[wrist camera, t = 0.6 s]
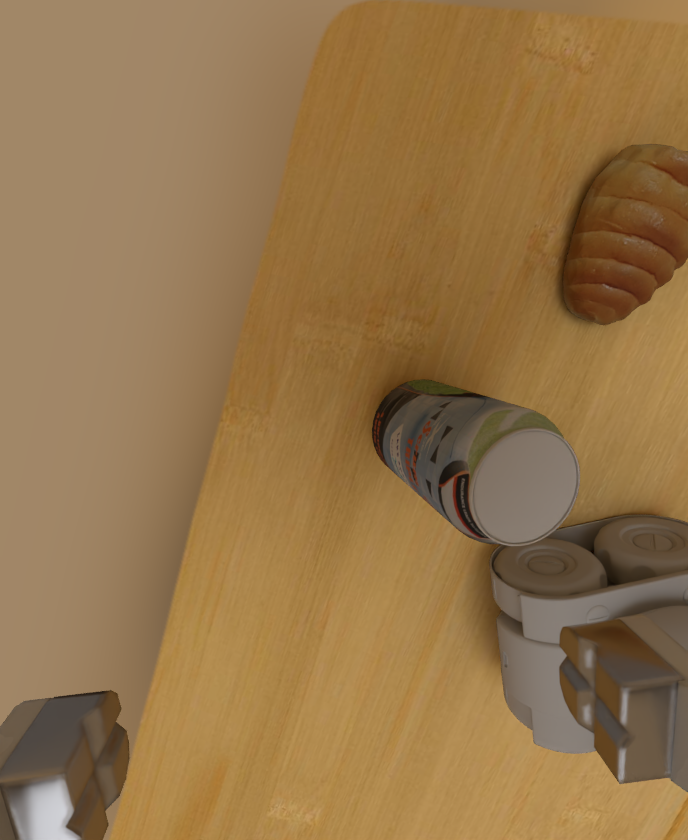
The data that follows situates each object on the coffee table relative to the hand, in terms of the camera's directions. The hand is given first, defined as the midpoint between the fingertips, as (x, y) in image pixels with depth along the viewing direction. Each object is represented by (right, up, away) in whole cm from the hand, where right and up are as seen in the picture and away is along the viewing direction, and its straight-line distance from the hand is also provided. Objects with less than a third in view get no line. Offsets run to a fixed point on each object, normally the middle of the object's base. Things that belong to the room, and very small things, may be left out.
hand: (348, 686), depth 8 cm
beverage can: (+5, +5, +21) cm, 22 cm away
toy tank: (+17, -7, +25) cm, 31 cm away
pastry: (+17, +16, +20) cm, 30 cm away
